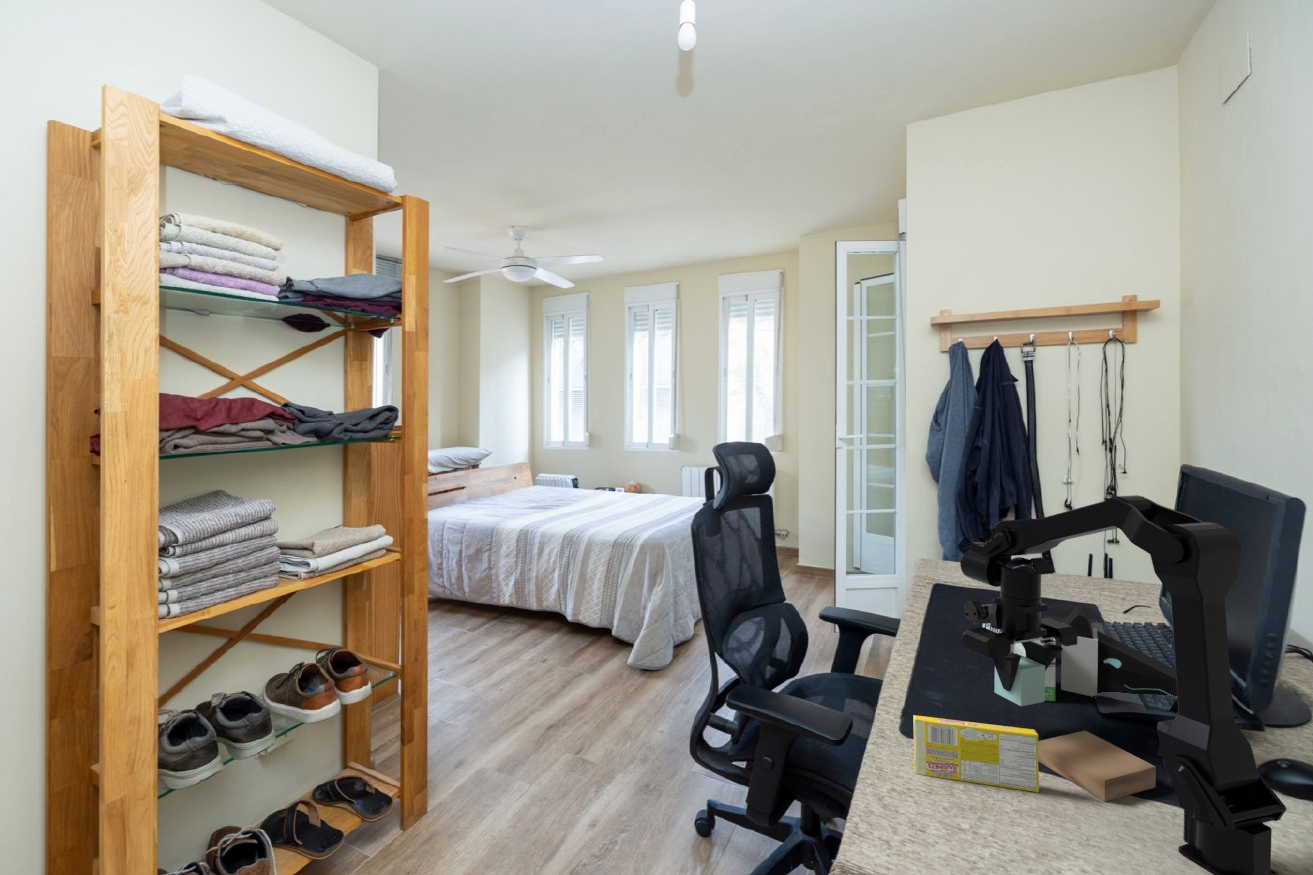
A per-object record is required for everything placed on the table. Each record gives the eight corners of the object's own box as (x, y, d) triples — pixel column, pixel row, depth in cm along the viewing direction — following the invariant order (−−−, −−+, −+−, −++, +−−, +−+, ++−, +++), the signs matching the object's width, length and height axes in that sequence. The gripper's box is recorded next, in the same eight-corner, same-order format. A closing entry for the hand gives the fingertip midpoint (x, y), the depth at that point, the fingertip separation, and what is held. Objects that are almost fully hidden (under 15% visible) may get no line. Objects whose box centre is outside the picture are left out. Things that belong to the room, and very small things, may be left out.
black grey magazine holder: (1187, 717, 101) (1189, 633, 100) (1060, 689, 111) (1062, 613, 111) (1180, 699, 107) (1182, 619, 107) (1061, 674, 118) (1062, 602, 117)
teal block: (1044, 701, 94) (1045, 665, 94) (1021, 706, 93) (1021, 669, 92) (1017, 688, 99) (1017, 653, 99) (994, 692, 97) (994, 657, 97)
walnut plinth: (1155, 787, 82) (1155, 766, 82) (1104, 801, 79) (1104, 780, 79) (1084, 748, 91) (1085, 730, 91) (1037, 760, 88) (1037, 741, 88)
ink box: (1056, 702, 106) (1057, 639, 106) (1027, 700, 107) (1028, 637, 107) (1035, 681, 115) (1036, 622, 114) (1008, 679, 116) (1009, 621, 115)
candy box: (1034, 784, 83) (1035, 728, 83) (1039, 794, 81) (1040, 736, 81) (912, 766, 88) (912, 712, 87) (914, 774, 85) (914, 720, 85)
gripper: (1020, 577, 106) (1019, 661, 106) (937, 586, 100) (937, 675, 101) (1080, 594, 95) (1079, 687, 95) (992, 606, 89) (991, 705, 90)
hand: (1019, 687), depth 96 cm, fingers closed on teal block, 5 cm apart
